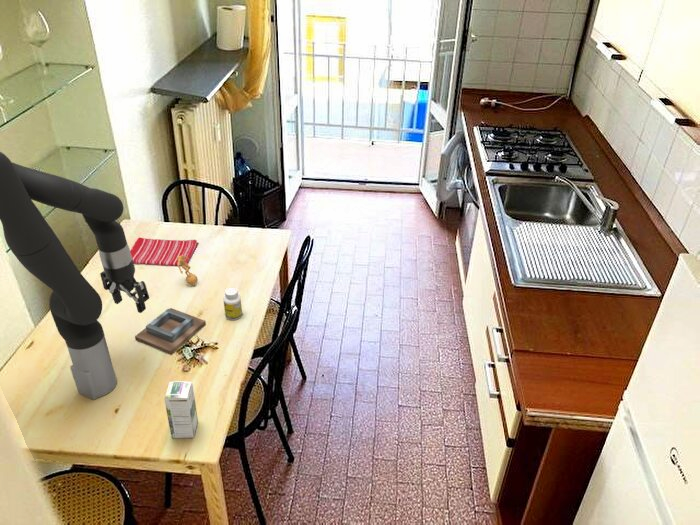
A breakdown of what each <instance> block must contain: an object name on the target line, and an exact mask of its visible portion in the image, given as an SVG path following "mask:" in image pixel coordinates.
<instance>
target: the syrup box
mask: <svg viewBox="0 0 700 525" xmlns="http://www.w3.org/2000/svg"><path fill="white" fill-rule="evenodd" d="M195 398H196V397H195V391H194V385H193V381H183V380H182V381H178V380H177V381H169V382H168V386H167V390H166V392H165V397H164V405H165V411H166V414H167V420H168V427H169V430H170V431H169V432H170V437H171V439H187V438H188V439H189V438H191V439H192V438H195V436H196V430H197V426H198V422H199V420H198V411H197V405H196V404H197V403H196V399H195Z"/></svg>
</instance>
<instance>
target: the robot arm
mask: <svg viewBox="0 0 700 525" xmlns="http://www.w3.org/2000/svg"><path fill="white" fill-rule="evenodd" d="M33 201H35V202H37V203H40V204H43V205H46V206H49V207H52V208H55V209H60V210H63V211H67V212H71V213H76V214H81V215H82V217H83V219H84V220H85V222H86V224H87V226H88V227H89V229H90V231H92V233H93V235H94V239H95V242H96V245H97V249H98V254H99V258H100V262H101V264H102V268H103V271H102V272H100V274H99V275H100V278H101V282H102V286H103V289H104V290H106V291H109V293H110V294H111V296H112V300H113V302H114V304H116V305H118V304H120V303H121V302H122V301H123V296H122V294H121V292H123V293H126V295H127V297H129V299H131V298H132V300H133V301H135V306H136V310H137V313H139V314H141V313H144V311H145V310H146V308H147V306H146V303H145V302H146V301H148V300H149V299H150V294H149V292H148V288H147V285H146V283H145V281H144V280H141V281H140V282H139V281H137V280H136V278H135V273H136V266H135V264H134V263H133V259H132V255H131V252H130V251H131V249H130V246H129V245H128V241H127V237H126V235H125V230H124V227H123V226H122V225H121V224H120V223H119V222H118V221H117V220H118V219H120V218H121V217H122V215H123V213H124V208H125V207H124V204H123V201H122V200H121V198H120V197H118V196H117V195H115V194H113V193H111V192H107V191H104V190H101V189H99V188H93V187H89V186H86V185H84V184H82V183H80V182H77V181H74V180H72V179H68V178H65V177H62V176H60V175H59V176H58V175H56V174H52V173H48V172H44V171H40V170H37V169H33V168H30V167H27V166H23V165H21V164H18V163H15V162H12V160H11V159H10V158H9V157H8V155H6V154H5V153H3V152H1V151H0V222H1V225H2V230H3V231H2V232H3V236H4V239H5V243H6V245H7V246H8V248H9V249H10V251H11V253H12V254H13V255H14V257H15V258H16V259H17V261H18V262H19V263H20V264H21V265H22V266H23V268H24V269H26V270H27V271H28V272H29V273H30V274H32V275H33V277H34V278H36V279H38V280H39V281H40V282H41V283H43V284H44V285H45V286H46V287H48V288H49V289H50V290H52V292H51V294H50V298H49V303H48V304H49V311H50V314H51V316H52V319H53V321H54V324H55V327H56V329H57V332H58V333H59V335H60V336H61V338H62V339H63V340H64V342H65V344H66V347H67V351H68V354H69V357H70V360H71V363H72V365H71V366H70V367H69V368H70V372H71V375H72V378H73V380H74V383H75V387H76V390H77V392H78V393H79V394H81V395H83V396H85V397H87V398H89V399H90V400H96V399H98V398H100V397H104V396H106V395H107V394H109V393H111V392H112V391H113V390H114V389H115V388H116V386H117V384H118V383H117V382H118V380H117V376H116V372H115V369H114V365H113V362H112V358H111V354H110V351H109V347H108V343H107V339H106V336H105V332H104V328H103V325H102V324H101V323H100V321H99V318H100V317H101V315H102V311H103V300H102V298H101V296H100V294H99V293H98V291H97V290H96V289H95V288H94V287H93V286H92V285H91V283H89V281H88V280H87V279H86V278H85V277H84V275H83V274H82V273H81V271H80V270H79V269H78V267H77V266H76V264H75V262H74V261H73V259H72V258H71V256H70V255H69V254H68V252H67V250H66V249H65V247H64V245H63V244H62V242H61V240H60V239H59V237H58V236H57V234H56V233H55V232H54V230H53V228H52V227H51V226H50V224H49V223H48V222H47V220H46V219H45V217H44V216H43V215H42V213H41V211H40V210H39V208H38V207H37V206H36V204H35V203H34V202H33ZM133 290H135V291H133ZM136 295H137V296H136Z"/></svg>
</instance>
